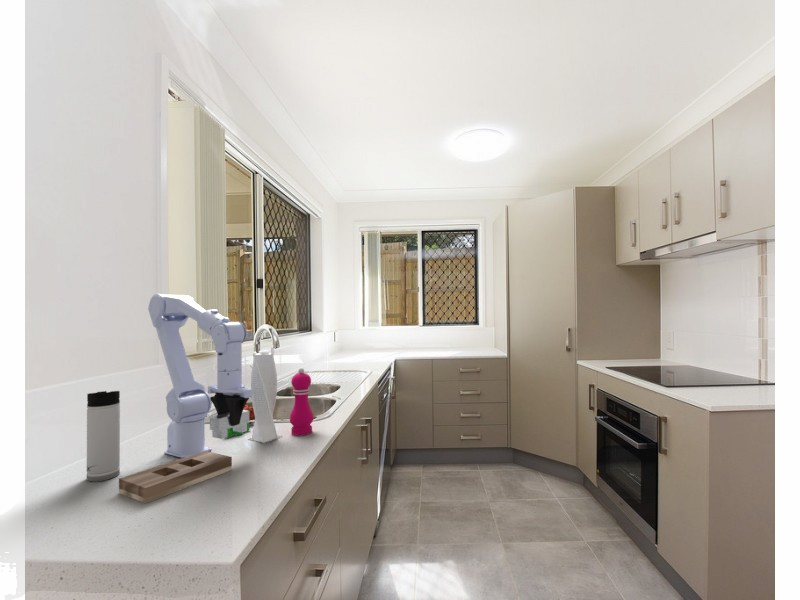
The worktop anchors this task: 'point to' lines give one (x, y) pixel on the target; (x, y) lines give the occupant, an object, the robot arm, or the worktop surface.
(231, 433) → the green bumpy bar
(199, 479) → the wooden slotted board
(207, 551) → the worktop surface
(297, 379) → the pepper mill
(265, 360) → the skyscraper
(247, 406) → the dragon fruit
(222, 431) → the grey block
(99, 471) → the travel mug
